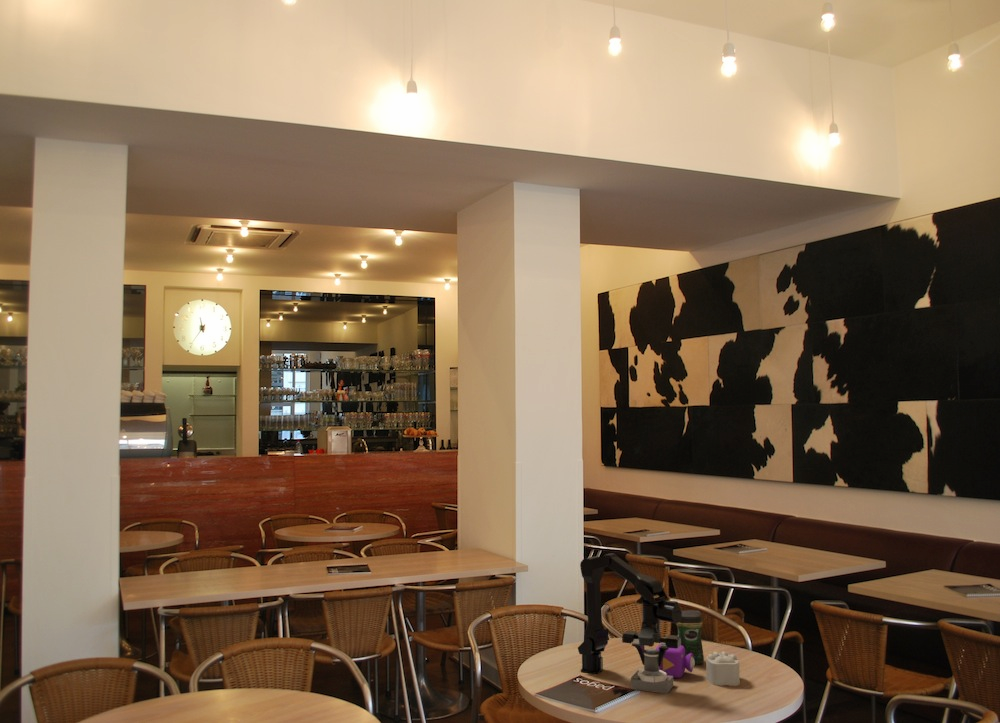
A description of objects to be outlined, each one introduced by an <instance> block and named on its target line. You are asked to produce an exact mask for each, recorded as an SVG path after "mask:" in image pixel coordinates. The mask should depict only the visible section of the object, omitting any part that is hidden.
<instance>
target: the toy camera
mask: <svg viewBox="0 0 1000 723" xmlns="http://www.w3.org/2000/svg"><path fill="white" fill-rule="evenodd" d="M658 644H659V645H657V647H656V648H654V649H655V650H658V651H659V647H660V646H661V643H658ZM695 666H696V665H695V661H694V658H693V654H692V653H690V654H688V655H687V656H685V648H684V646H682V645H680V646H679V647H678V648H676V649H675V648H669V649H668V650H666V652H665V655H664V658H663V661H662V664H661V666H660V669H659V670H662V671H664V672H666V673H667V675H669V676H673V679H674V678H675V679H678V678H681V677H682V676H683V675H684V673H685V670H687V671H688V672H690V673H693V669H694V667H695Z"/></svg>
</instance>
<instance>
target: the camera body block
mask: <svg viewBox="0 0 1000 723" xmlns="http://www.w3.org/2000/svg"><path fill="white" fill-rule="evenodd" d="M673 687H674V678H673V676H669V675H667V673H666V672H664V671H662V670H659V671H657V672H649V671H645V670H644V668H638V669H637V670H636V671H635V673H634V674H633V675H632V676H631V677H630V689H631V690H636V689H639V690H638V691H645V692H654V693H661V694H665V695H667V694H669V692H670V691H671V689H672V688H673Z"/></svg>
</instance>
